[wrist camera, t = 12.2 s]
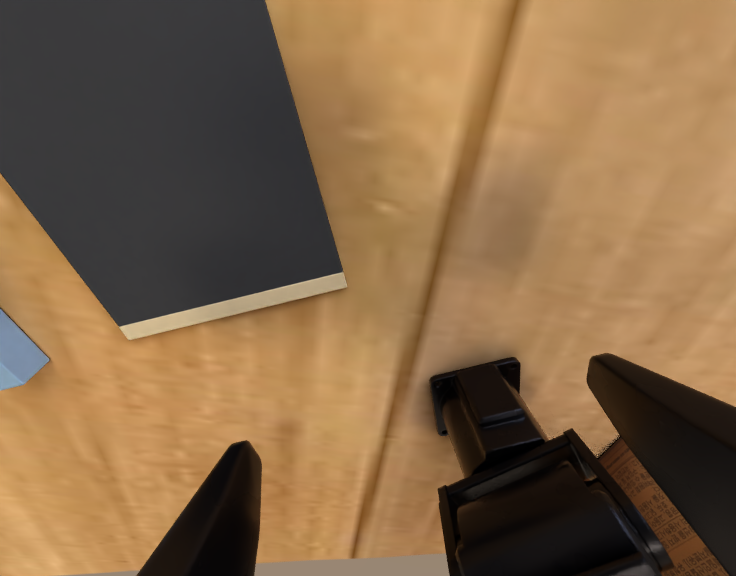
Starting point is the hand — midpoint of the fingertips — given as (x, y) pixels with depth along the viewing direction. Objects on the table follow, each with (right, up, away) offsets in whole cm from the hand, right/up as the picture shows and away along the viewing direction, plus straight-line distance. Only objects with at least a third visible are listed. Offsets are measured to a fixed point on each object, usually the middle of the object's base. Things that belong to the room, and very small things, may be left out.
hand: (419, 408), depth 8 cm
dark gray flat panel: (-11, +9, +6) cm, 15 cm away
